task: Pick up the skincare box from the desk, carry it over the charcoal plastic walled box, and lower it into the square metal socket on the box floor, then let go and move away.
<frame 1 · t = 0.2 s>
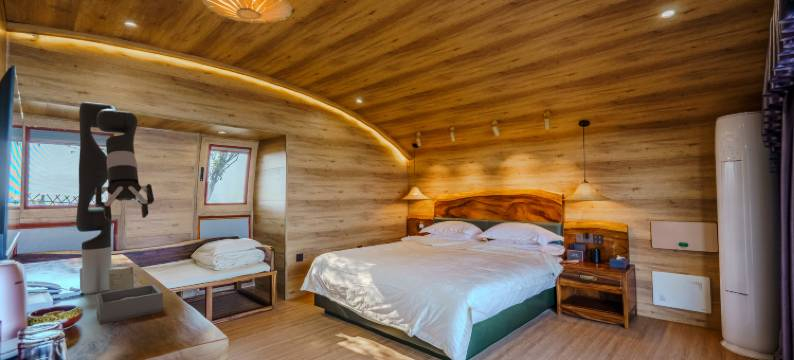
hand: (127, 218, 112), 31 cm above the table, tool tilted 20°, fingers open, 8 cm apart
walled box: (129, 311, 122), on the table
skincare box: (121, 302, 134), on the table
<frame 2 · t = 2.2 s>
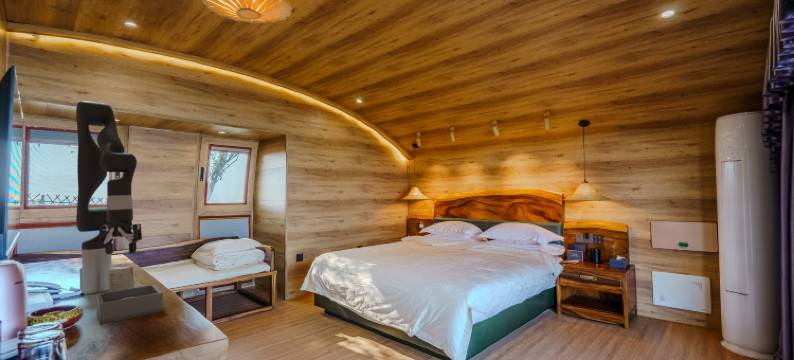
hand: (120, 253, 134), 17 cm above the table, tool pointing down, fingers open, 8 cm apart
nothing on the table moved.
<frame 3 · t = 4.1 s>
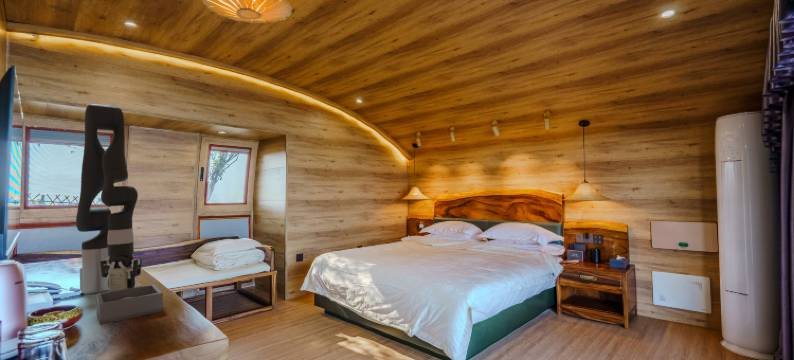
hand: (121, 288, 134), 5 cm above the table, tool pointing down, fingers closed on skincare box, 6 cm apart
skincare box: (121, 302, 134), on the table, touching gripper
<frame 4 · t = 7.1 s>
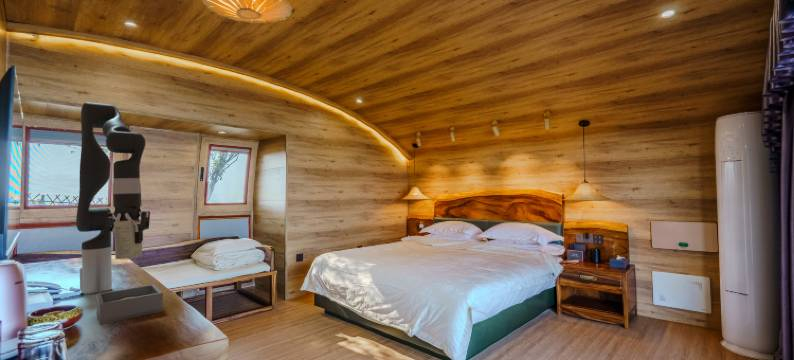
hand: (128, 243, 123), 22 cm above the table, tool pointing down, fingers closed on skincare box, 6 cm apart
skincare box: (128, 258, 122), point 17 cm above the table, touching gripper
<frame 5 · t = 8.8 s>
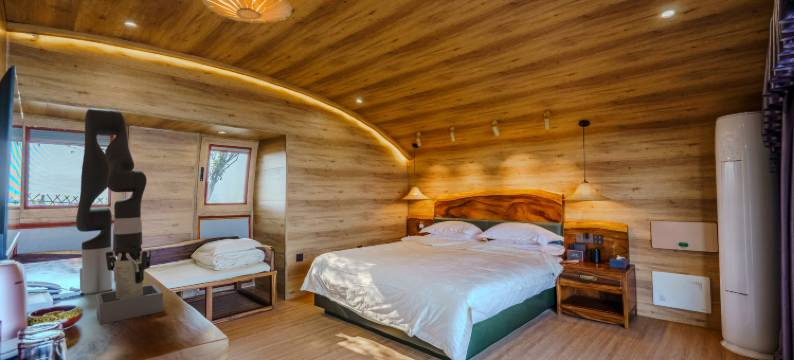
hand: (129, 282, 122), 9 cm above the table, tool pointing down, fingers closed on skincare box, 6 cm apart
skincare box: (129, 297, 122), point 4 cm above the table, touching gripper
when the fingers open (6 cm above the table, at t = 10.4 s): skincare box stays where it is, resting on walled box.
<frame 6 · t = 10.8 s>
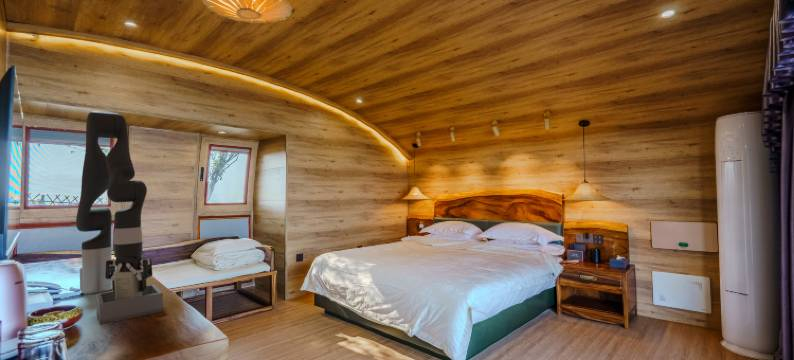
hand: (129, 291, 122), 7 cm above the table, tool pointing down, fingers open, 8 cm apart
skincare box: (129, 309, 122), point 1 cm above the table, touching walled box
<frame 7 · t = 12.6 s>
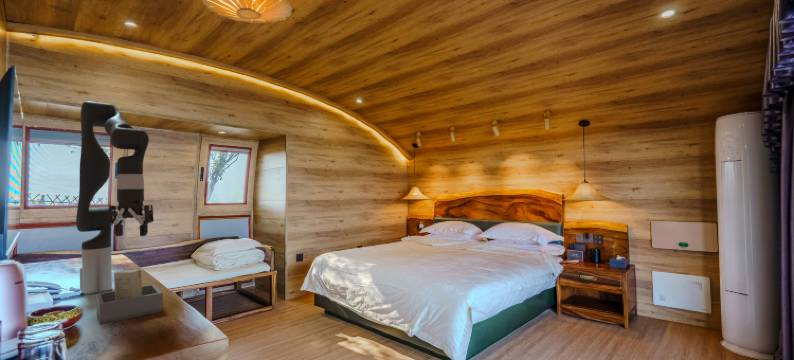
hand: (131, 235, 126), 24 cm above the table, tool pointing down, fingers open, 8 cm apart
nothing on the table moved.
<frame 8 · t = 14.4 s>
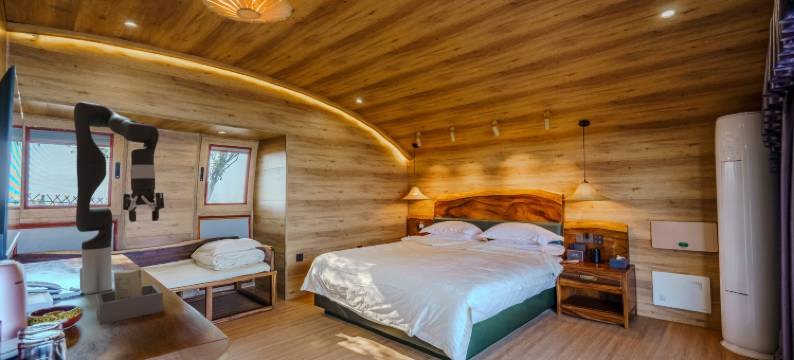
hand: (144, 221, 139), 28 cm above the table, tool pointing down, fingers open, 8 cm apart
nothing on the table moved.
at the end: skincare box 0.3 cm off-centre on the walled box, point 0.8 cm above the walled box's base; skincare box tilted 0°; the gripper is holding nothing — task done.
